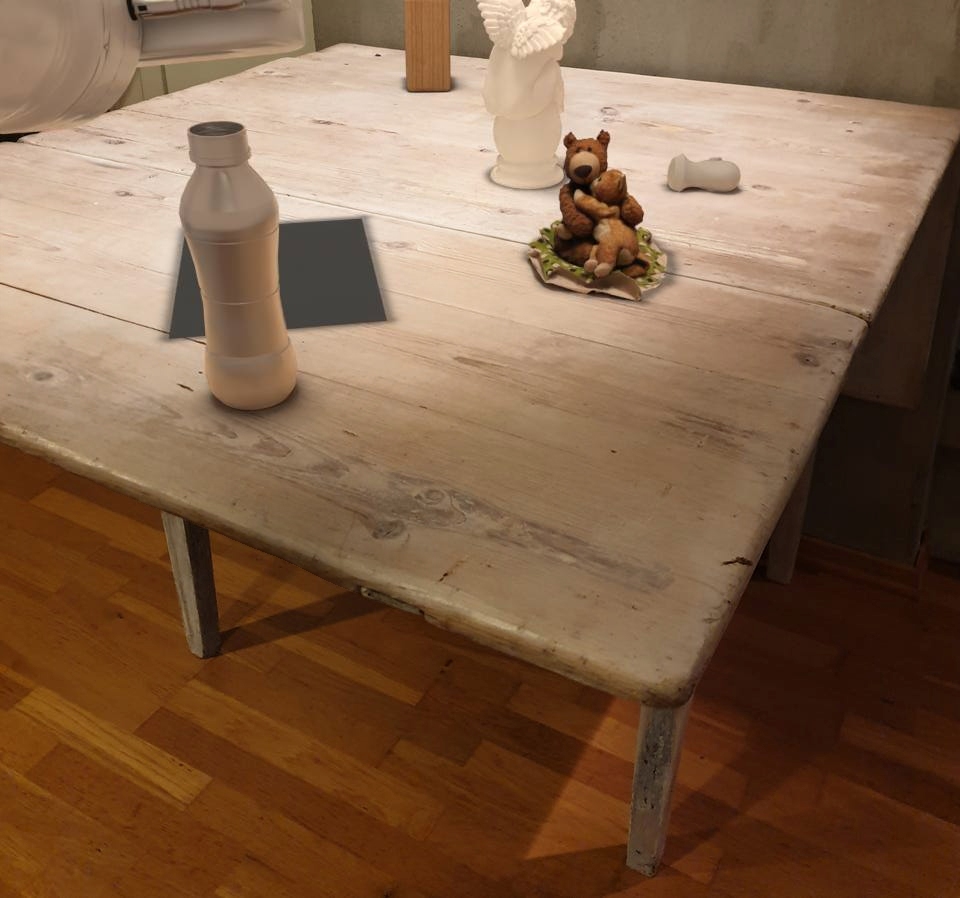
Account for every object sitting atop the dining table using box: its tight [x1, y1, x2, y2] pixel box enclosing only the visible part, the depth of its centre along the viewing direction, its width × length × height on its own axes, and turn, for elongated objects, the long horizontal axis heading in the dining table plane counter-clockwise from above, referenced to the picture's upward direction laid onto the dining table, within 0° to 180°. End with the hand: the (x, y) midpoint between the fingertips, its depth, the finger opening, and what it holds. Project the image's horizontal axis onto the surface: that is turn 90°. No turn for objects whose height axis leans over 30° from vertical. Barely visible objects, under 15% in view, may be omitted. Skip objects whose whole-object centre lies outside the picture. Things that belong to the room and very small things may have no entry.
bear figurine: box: [526, 128, 668, 302], centre depth 89 cm, size 14×15×12 cm
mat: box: [168, 218, 388, 340], centre depth 91 cm, size 18×24×1 cm
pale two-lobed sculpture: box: [666, 153, 742, 193], centre depth 109 cm, size 4×8×5 cm
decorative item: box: [402, 0, 452, 93], centre depth 142 cm, size 7×7×20 cm
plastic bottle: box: [178, 120, 298, 411], centre depth 67 cm, size 6×7×20 cm
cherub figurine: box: [475, 0, 577, 190], centre depth 105 cm, size 12×12×22 cm
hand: (131, 37), depth 51 cm, fingers open, 8 cm apart
